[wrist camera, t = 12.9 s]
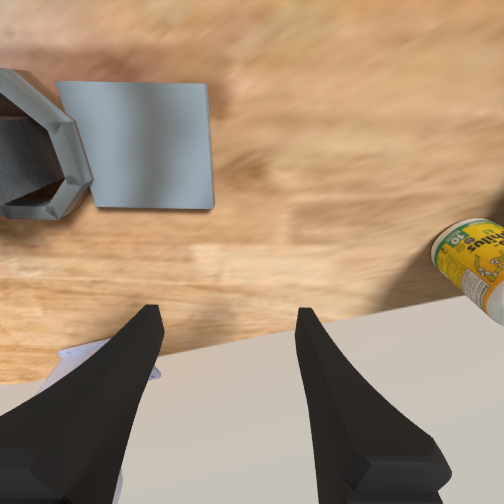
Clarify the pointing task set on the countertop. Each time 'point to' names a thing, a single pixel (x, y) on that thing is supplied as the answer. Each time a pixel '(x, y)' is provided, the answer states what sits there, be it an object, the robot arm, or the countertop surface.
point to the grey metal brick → (25, 158)
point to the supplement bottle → (474, 262)
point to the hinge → (118, 144)
